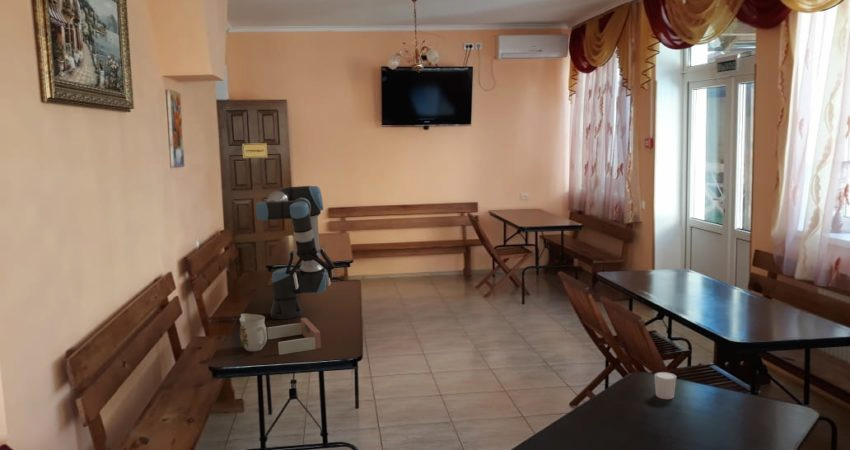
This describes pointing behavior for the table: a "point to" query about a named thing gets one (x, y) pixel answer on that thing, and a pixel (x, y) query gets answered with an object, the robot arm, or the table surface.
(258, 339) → the pitcher
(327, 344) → the table surface
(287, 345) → the deck bay
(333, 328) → the table surface
